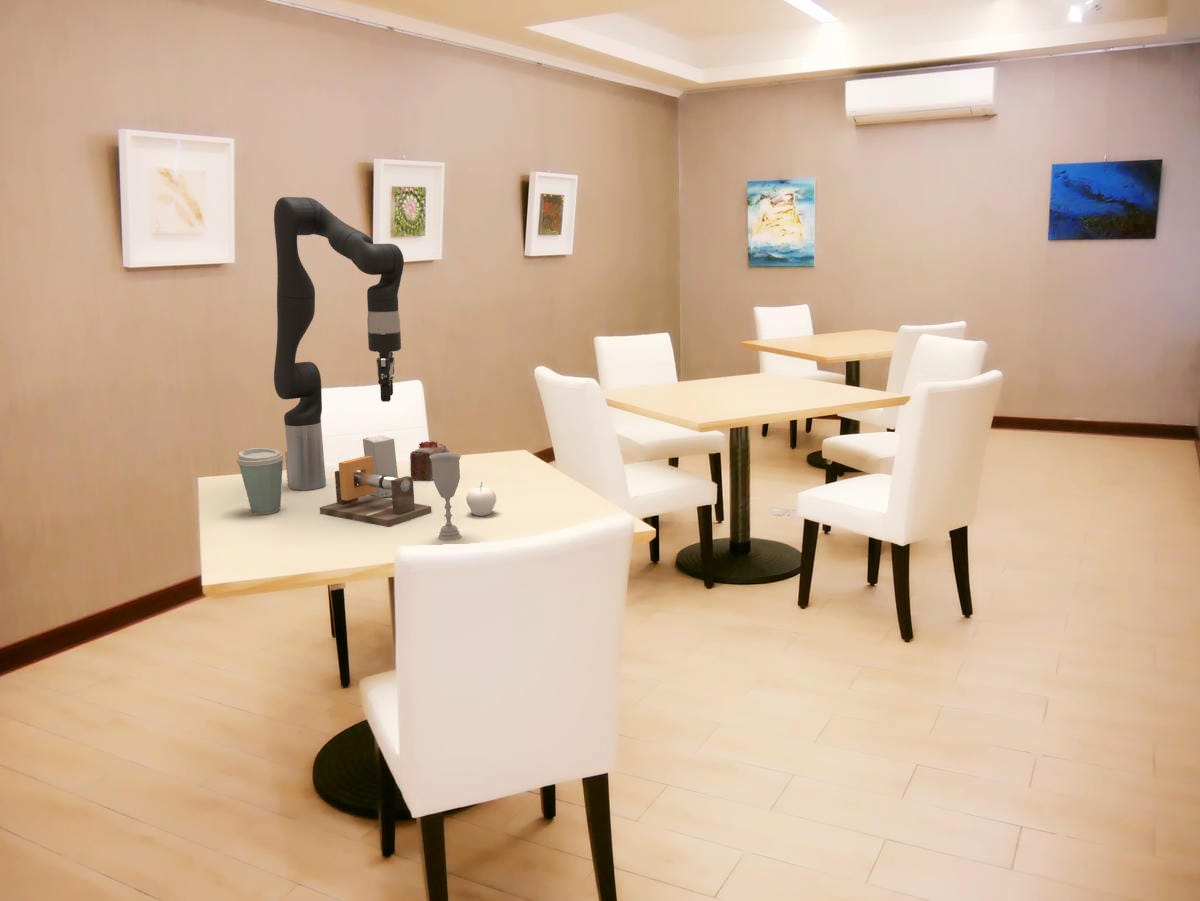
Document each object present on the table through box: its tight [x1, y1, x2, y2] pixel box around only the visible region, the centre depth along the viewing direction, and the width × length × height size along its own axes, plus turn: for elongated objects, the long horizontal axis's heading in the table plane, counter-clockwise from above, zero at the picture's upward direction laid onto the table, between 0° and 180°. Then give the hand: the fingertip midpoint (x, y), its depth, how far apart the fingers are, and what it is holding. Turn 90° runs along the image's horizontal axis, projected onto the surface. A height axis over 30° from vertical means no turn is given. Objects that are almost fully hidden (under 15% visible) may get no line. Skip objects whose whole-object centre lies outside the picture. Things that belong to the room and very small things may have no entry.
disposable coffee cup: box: [236, 447, 284, 516], centre depth 232 cm, size 11×11×15 cm
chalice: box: [429, 452, 462, 541], centre depth 208 cm, size 7×7×18 cm
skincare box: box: [362, 434, 399, 498], centre depth 247 cm, size 8×6×15 cm
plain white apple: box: [465, 481, 497, 517], centre depth 227 cm, size 7×7×8 cm
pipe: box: [353, 471, 410, 492], centre depth 229 cm, size 21×3×3 cm, turn 57°
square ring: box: [338, 456, 375, 501], centre depth 232 cm, size 2×9×9 cm, turn 146°
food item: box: [409, 440, 450, 482], centre depth 268 cm, size 14×8×10 cm, turn 170°
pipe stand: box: [319, 470, 432, 528], centre depth 230 cm, size 23×14×10 cm, turn 57°
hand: (387, 398), depth 231 cm, fingers open, 8 cm apart
